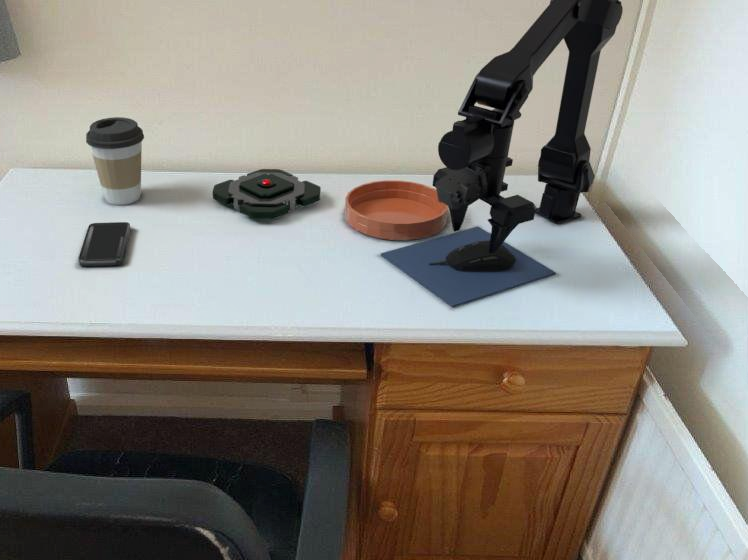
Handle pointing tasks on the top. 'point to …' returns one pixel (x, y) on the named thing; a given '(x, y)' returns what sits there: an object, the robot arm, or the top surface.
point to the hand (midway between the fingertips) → (473, 241)
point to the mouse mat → (457, 283)
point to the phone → (105, 244)
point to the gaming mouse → (479, 258)
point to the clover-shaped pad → (266, 193)
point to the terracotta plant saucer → (395, 210)
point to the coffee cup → (117, 158)
